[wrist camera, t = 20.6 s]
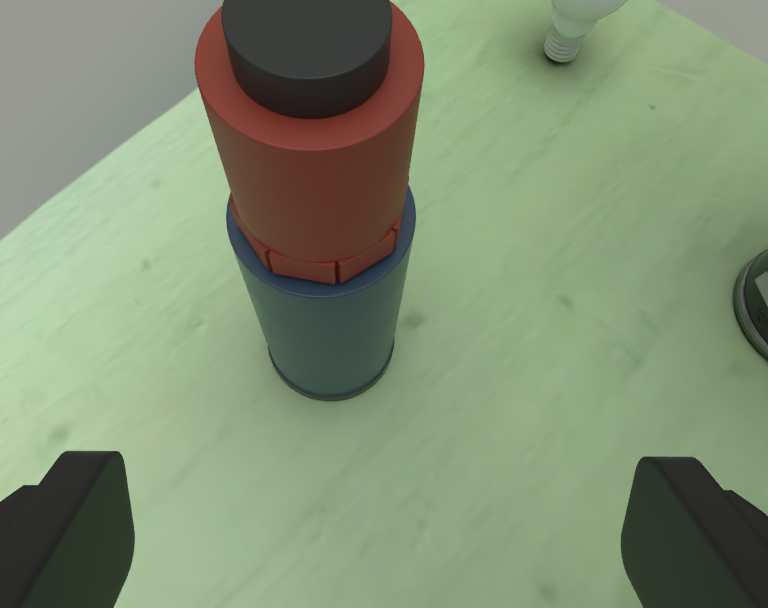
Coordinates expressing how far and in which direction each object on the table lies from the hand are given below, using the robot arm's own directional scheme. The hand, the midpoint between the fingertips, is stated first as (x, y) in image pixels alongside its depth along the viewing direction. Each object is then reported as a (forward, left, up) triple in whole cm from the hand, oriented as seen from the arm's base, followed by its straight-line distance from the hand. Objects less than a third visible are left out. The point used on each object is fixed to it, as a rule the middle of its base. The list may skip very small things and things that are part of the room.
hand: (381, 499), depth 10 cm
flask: (-6, -11, -27) cm, 30 cm away
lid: (-6, -11, -11) cm, 17 cm away
